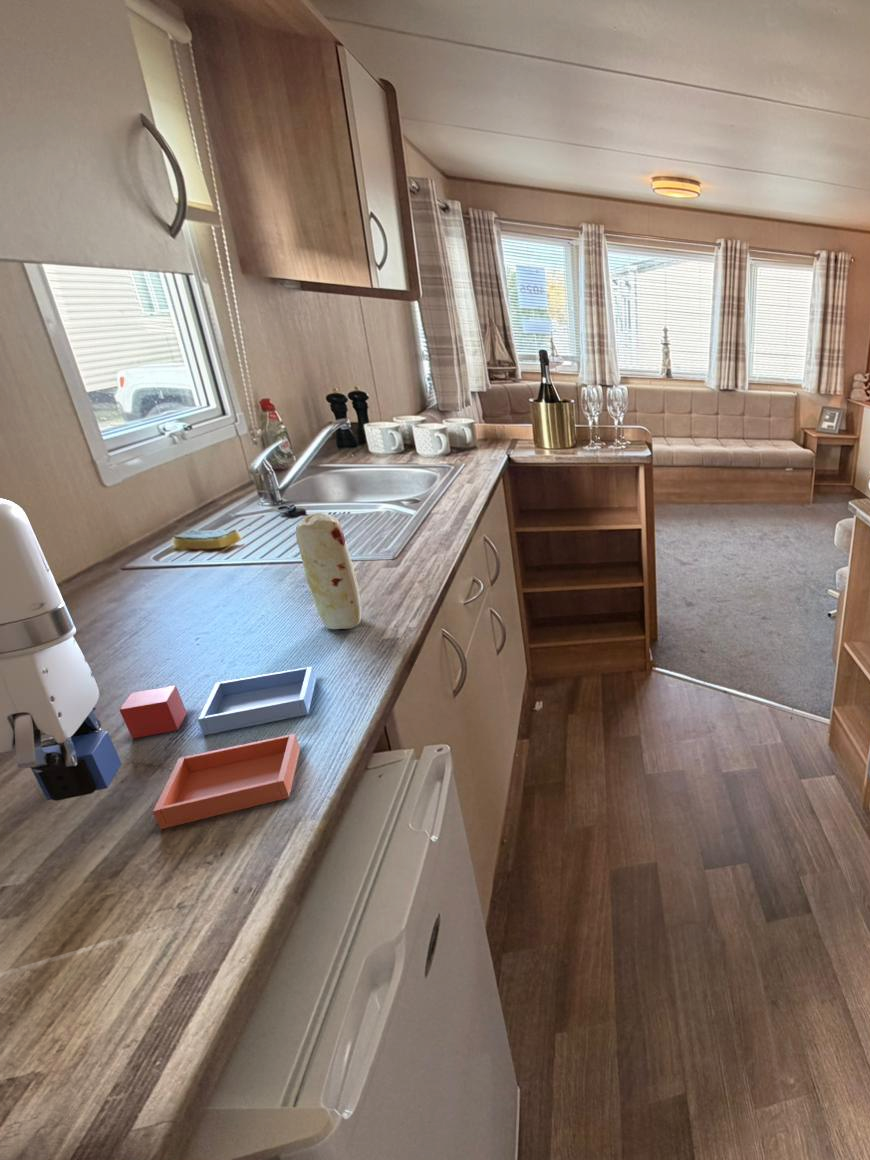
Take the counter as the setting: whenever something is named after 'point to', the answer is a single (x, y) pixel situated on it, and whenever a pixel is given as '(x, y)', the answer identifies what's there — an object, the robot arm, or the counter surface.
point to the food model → (329, 571)
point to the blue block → (92, 758)
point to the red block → (153, 711)
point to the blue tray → (258, 700)
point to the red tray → (228, 780)
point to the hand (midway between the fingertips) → (84, 778)
